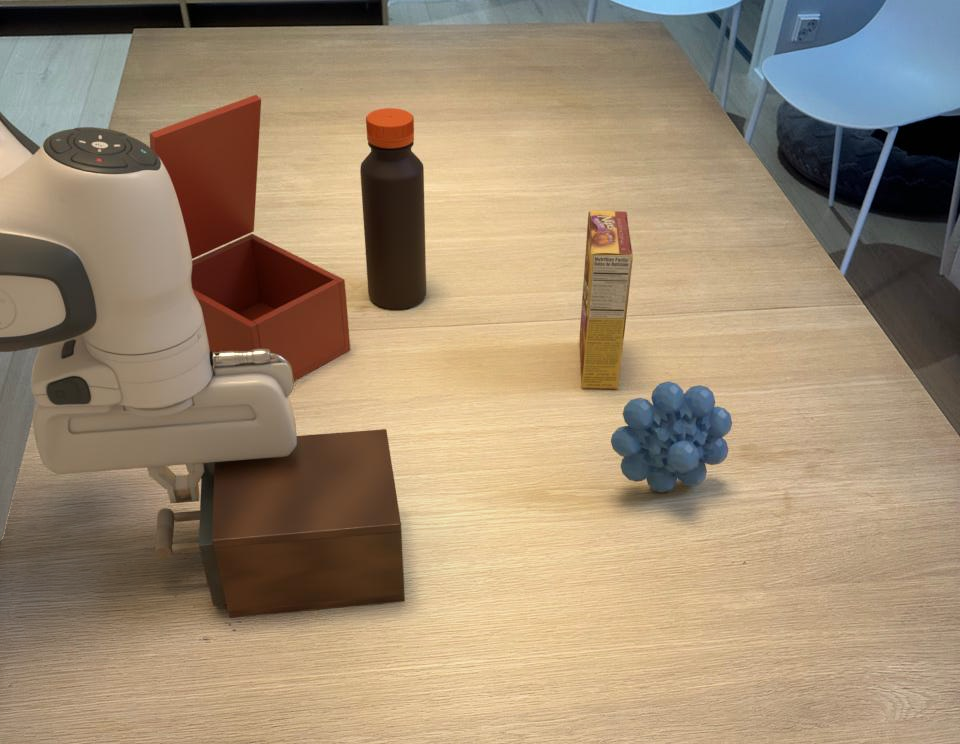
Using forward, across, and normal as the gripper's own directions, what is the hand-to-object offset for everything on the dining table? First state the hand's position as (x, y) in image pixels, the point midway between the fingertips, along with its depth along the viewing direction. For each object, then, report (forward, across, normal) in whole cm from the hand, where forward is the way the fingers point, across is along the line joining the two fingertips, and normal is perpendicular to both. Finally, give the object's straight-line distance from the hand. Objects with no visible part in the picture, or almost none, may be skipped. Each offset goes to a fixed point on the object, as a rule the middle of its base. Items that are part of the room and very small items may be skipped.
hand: (185, 498), depth 91 cm
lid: (-11, -3, -34) cm, 36 cm away
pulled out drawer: (+4, -6, +4) cm, 8 cm away
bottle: (+5, -22, -40) cm, 46 cm away
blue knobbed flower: (+5, -43, 0) cm, 44 cm away
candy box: (+5, -42, -22) cm, 48 cm away
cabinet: (+5, -10, +4) cm, 12 cm away
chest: (+5, -6, -30) cm, 31 cm away
